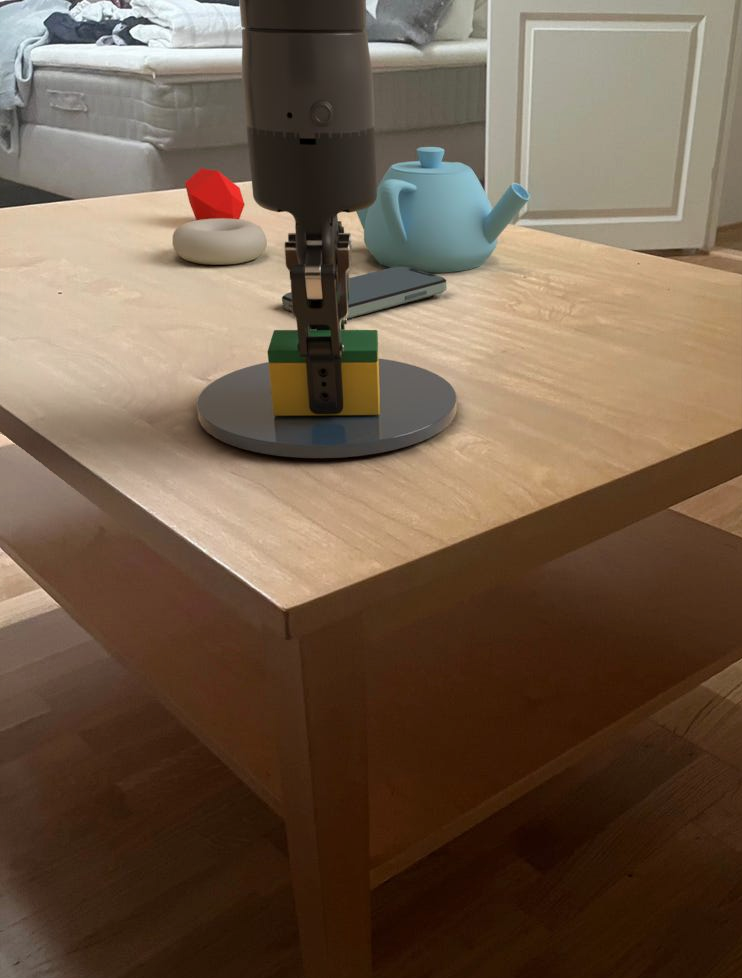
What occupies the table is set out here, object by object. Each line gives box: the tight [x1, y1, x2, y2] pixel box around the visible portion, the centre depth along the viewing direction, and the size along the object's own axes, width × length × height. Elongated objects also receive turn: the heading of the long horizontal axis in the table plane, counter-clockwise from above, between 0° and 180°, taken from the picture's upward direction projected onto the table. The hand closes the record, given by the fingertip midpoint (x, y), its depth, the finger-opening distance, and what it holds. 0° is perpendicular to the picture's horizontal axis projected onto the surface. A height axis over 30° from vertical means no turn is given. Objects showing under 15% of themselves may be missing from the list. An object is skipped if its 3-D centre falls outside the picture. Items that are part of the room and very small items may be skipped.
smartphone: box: [281, 267, 448, 320], centre depth 95 cm, size 8×2×15 cm
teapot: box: [355, 146, 531, 274], centre depth 107 cm, size 15×17×11 cm
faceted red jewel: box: [184, 168, 246, 221], centre depth 123 cm, size 7×7×8 cm
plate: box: [196, 357, 458, 459], centre depth 71 cm, size 18×18×1 cm
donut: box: [172, 218, 268, 266], centre depth 108 cm, size 10×4×10 cm
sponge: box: [267, 329, 380, 416], centre depth 67 cm, size 7×5×4 cm, turn 95°
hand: (328, 397), depth 68 cm, fingers closed on sponge, 4 cm apart
